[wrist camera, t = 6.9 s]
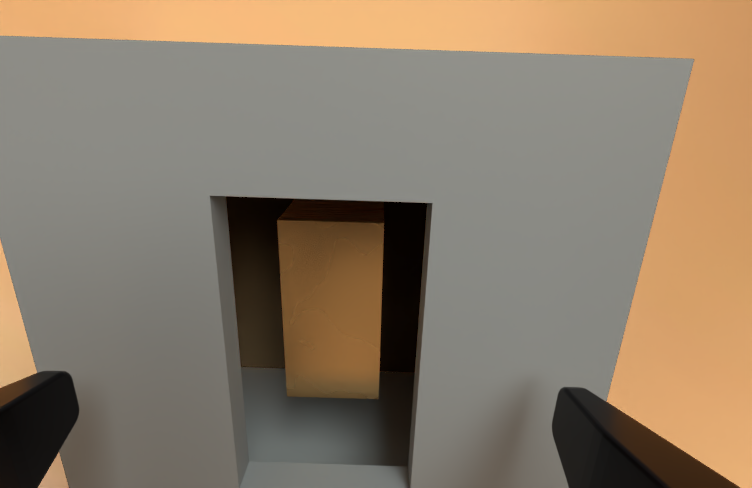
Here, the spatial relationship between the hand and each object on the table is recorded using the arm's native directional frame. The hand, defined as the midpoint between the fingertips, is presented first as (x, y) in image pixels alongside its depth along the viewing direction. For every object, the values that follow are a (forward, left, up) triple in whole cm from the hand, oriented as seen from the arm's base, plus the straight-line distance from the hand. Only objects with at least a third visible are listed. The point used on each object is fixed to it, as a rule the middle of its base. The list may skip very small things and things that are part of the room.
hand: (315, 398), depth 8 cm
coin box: (0, 0, -8) cm, 8 cm away
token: (0, 0, -8) cm, 8 cm away
